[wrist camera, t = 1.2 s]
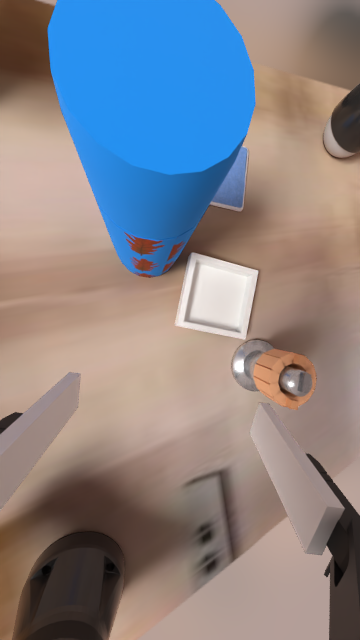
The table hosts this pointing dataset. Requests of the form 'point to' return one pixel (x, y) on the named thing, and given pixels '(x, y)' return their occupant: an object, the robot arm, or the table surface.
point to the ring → (270, 371)
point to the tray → (216, 296)
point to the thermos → (151, 114)
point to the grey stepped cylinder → (246, 361)
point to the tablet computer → (233, 184)
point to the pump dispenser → (344, 126)
